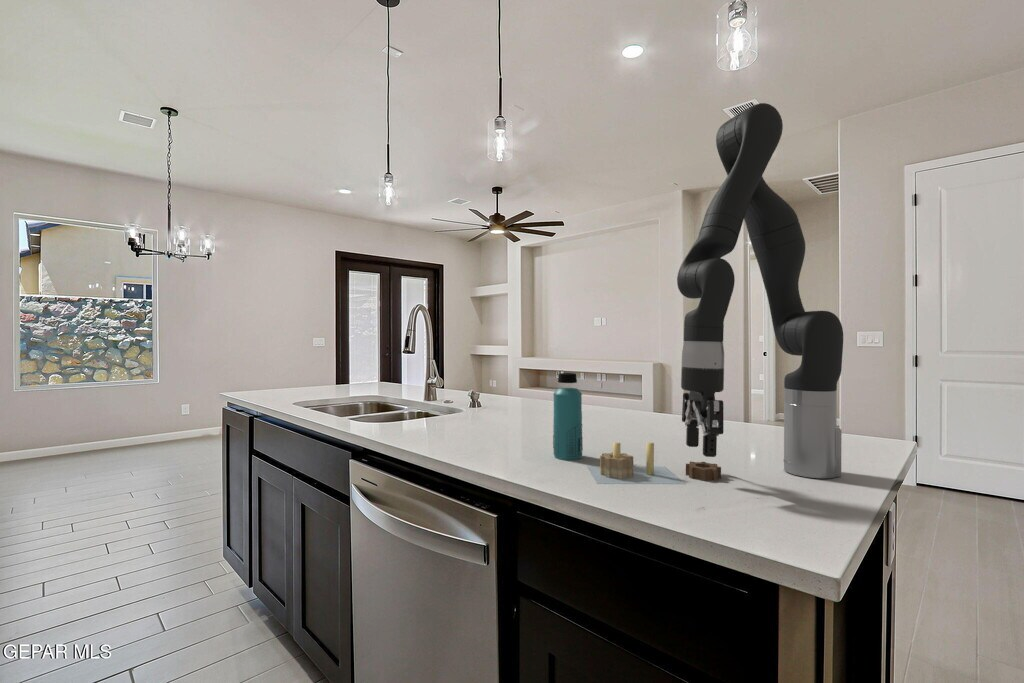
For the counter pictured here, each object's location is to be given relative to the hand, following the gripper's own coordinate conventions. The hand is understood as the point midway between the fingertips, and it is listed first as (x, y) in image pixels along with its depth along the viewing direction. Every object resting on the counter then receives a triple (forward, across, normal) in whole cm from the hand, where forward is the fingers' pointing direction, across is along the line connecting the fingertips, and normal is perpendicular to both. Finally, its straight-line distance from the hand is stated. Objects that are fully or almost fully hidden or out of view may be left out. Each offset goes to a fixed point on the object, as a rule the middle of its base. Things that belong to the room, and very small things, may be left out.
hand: (700, 451), depth 92 cm
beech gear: (+5, +1, +16) cm, 16 cm away
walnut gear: (+6, 0, -1) cm, 6 cm away
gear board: (+6, +1, +12) cm, 14 cm away
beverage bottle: (+7, +15, +23) cm, 29 cm away
